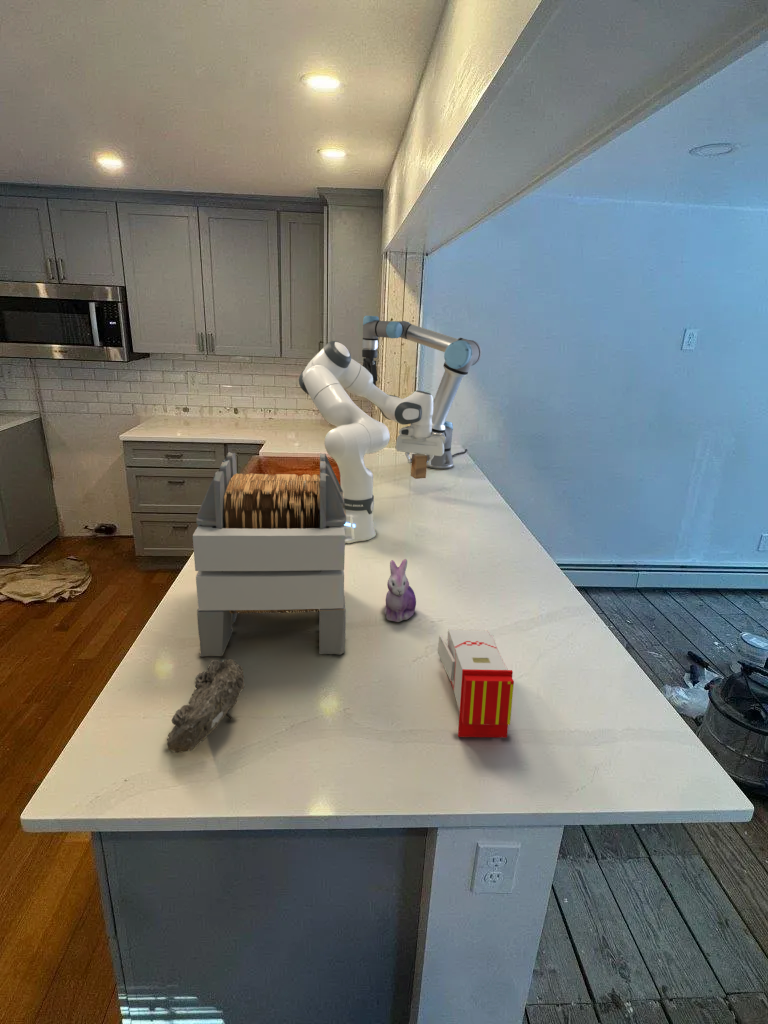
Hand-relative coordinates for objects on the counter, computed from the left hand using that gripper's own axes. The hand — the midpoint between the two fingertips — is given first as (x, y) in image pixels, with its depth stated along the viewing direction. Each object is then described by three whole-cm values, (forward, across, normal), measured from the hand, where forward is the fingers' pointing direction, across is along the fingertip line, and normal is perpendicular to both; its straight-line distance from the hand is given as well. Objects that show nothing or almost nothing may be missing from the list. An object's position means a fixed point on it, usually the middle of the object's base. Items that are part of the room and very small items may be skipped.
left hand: (418, 463), depth 236 cm
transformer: (+15, +9, +111) cm, 113 cm away
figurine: (+15, -19, +98) cm, 101 cm away
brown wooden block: (+6, 0, 0) cm, 6 cm away
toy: (+15, -42, +124) cm, 131 cm away
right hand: (-20, +39, -48) cm, 65 cm away
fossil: (+15, +4, +148) cm, 149 cm away
